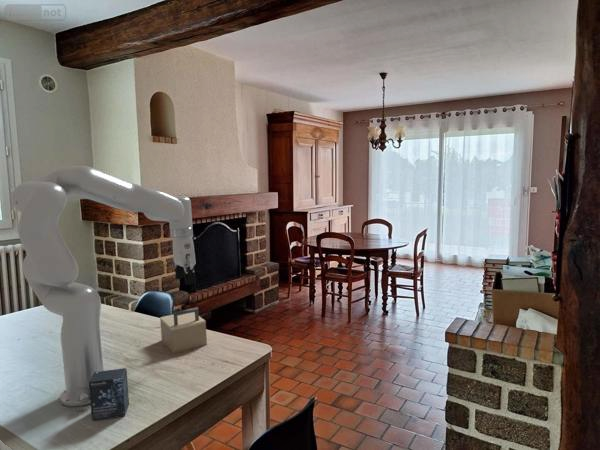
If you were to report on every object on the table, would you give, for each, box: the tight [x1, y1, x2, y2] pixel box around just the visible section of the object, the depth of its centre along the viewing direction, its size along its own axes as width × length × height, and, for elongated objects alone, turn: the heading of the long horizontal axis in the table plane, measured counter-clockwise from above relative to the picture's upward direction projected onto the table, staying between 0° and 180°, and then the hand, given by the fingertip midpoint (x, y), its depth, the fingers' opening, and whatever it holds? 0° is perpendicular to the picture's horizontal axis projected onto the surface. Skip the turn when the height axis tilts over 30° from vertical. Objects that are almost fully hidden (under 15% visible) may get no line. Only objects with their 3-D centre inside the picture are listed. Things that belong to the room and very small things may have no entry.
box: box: [89, 367, 130, 421], centre depth 103 cm, size 8×6×11 cm
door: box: [159, 306, 207, 331], centre depth 145 cm, size 14×12×6 cm
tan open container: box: [159, 319, 208, 355], centre depth 146 cm, size 14×12×8 cm
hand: (184, 281), depth 140 cm, fingers open, 9 cm apart
